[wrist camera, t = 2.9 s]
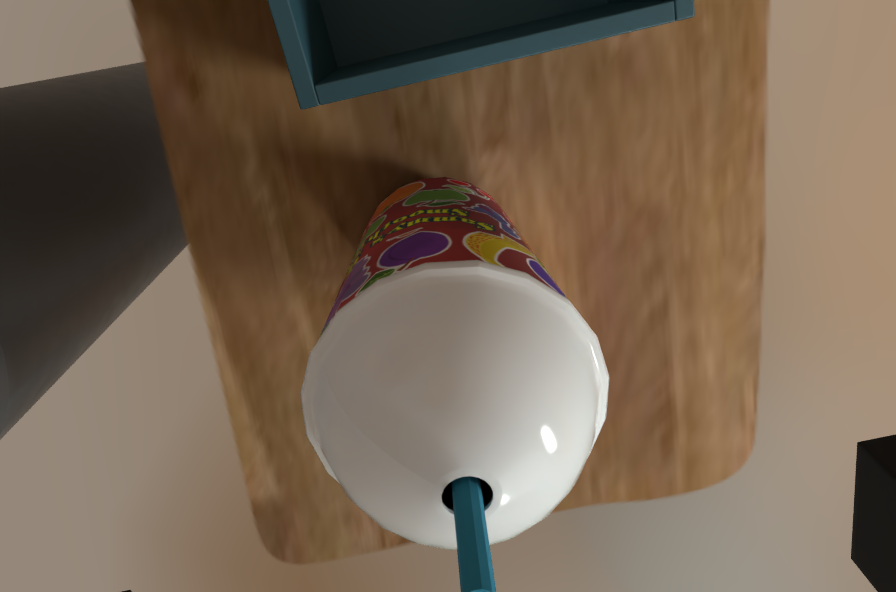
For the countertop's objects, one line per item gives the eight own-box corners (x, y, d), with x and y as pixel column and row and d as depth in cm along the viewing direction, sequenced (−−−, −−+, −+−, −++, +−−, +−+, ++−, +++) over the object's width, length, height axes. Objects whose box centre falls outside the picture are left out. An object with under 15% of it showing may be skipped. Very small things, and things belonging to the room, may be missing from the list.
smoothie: (451, 112, 28) (530, 310, 9) (561, 252, 30) (785, 611, 12) (310, 231, 29) (145, 591, 11) (426, 352, 32) (445, 796, 14)
